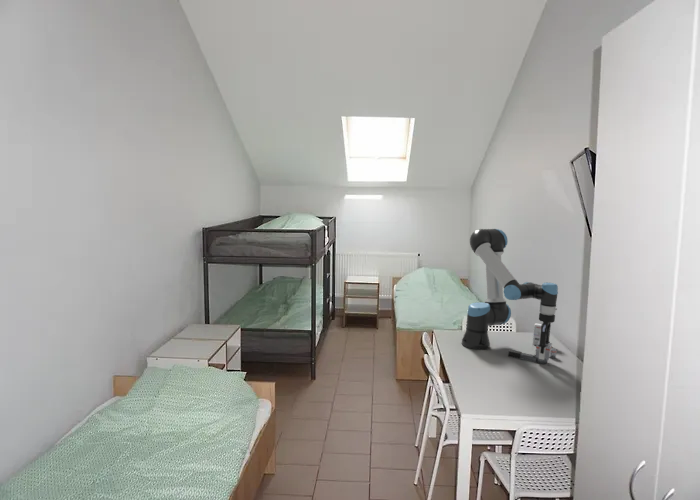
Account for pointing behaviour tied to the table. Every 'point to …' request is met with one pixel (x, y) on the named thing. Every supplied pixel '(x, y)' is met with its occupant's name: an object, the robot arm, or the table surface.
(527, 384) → the table surface
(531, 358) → the ratchet
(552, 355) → the socket small
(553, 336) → the table surface
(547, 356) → the socket
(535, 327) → the ink box
